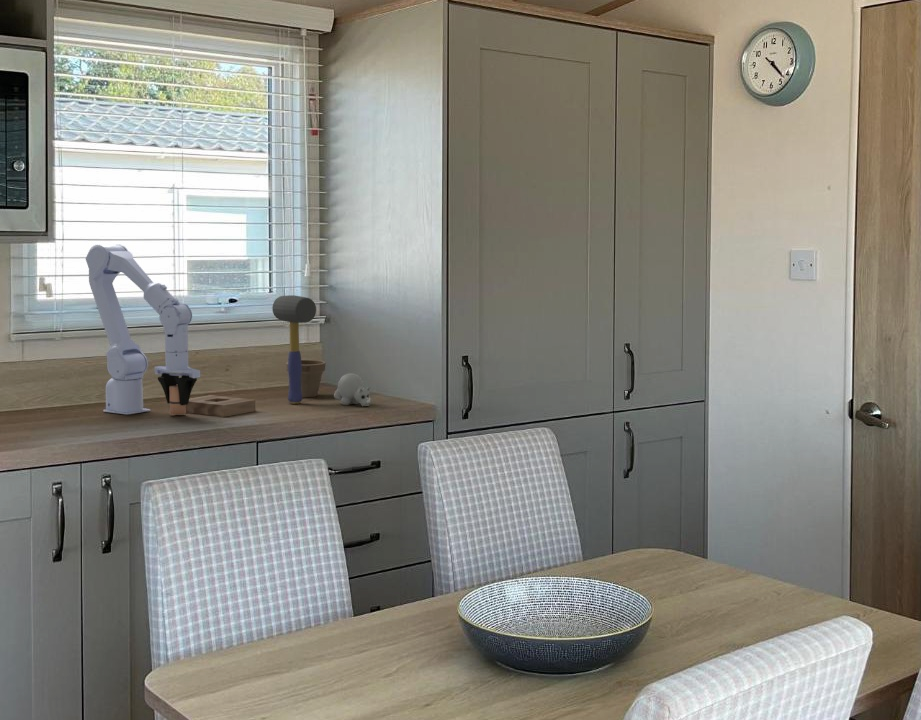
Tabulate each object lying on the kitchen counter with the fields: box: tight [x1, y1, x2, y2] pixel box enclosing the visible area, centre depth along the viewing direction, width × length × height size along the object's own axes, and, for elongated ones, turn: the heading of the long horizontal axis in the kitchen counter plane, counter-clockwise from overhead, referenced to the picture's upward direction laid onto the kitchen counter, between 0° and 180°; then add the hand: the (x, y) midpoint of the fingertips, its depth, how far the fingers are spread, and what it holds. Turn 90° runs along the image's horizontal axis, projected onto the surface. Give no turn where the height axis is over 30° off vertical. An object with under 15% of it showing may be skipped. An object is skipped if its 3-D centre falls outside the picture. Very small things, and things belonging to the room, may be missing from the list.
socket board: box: [186, 394, 256, 418], centre depth 299 cm, size 16×12×3 cm
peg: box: [169, 385, 187, 416], centre depth 291 cm, size 4×4×7 cm
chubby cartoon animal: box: [333, 372, 371, 407], centre depth 310 cm, size 7×12×8 cm, turn 45°
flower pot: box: [285, 359, 327, 399], centre depth 327 cm, size 12×11×10 cm
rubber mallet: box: [271, 295, 317, 405], centre depth 311 cm, size 12×8×30 cm, turn 43°
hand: (177, 403), depth 291 cm, fingers closed on peg, 4 cm apart
